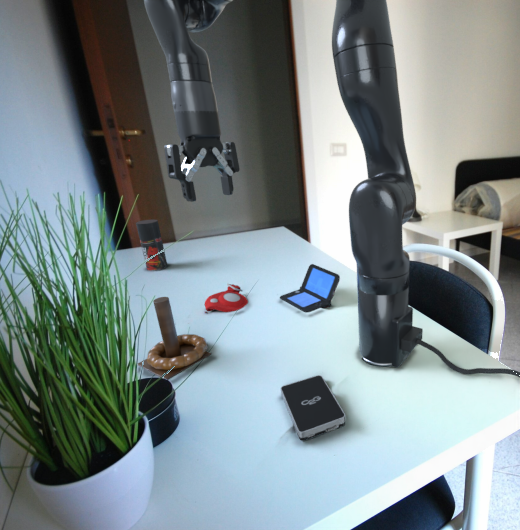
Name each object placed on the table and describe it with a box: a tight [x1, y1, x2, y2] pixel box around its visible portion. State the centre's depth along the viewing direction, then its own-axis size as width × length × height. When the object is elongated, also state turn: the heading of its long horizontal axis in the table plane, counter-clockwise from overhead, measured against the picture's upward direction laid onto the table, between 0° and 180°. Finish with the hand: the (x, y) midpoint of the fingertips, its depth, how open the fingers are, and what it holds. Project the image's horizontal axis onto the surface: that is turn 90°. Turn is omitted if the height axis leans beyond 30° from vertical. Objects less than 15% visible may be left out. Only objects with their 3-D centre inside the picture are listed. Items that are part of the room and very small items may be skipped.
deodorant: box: [135, 219, 168, 271], centre depth 116 cm, size 6×6×15 cm
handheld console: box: [279, 263, 341, 314], centre depth 91 cm, size 12×11×7 cm
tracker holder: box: [204, 283, 249, 313], centre depth 91 cm, size 12×4×10 cm
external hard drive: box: [280, 374, 346, 442], centre depth 56 cm, size 7×11×2 cm, turn 26°
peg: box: [137, 296, 212, 380], centre depth 66 cm, size 9×9×13 cm
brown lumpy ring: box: [146, 333, 208, 370], centre depth 69 cm, size 10×10×2 cm
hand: (210, 197), depth 74 cm, fingers open, 8 cm apart
